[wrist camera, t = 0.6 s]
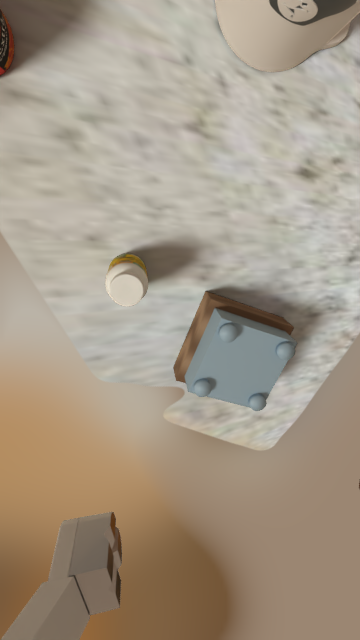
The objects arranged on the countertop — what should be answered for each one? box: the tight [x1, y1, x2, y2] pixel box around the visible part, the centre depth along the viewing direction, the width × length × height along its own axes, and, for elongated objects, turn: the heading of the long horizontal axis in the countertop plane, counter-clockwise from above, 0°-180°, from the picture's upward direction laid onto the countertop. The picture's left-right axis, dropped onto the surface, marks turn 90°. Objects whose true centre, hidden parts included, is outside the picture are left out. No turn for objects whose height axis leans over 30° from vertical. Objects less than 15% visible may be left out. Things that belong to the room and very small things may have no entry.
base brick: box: [173, 291, 294, 383], centre depth 51 cm, size 14×14×4 cm
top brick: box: [184, 308, 297, 411], centre depth 47 cm, size 12×12×5 cm
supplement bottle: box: [105, 254, 148, 306], centre depth 42 cm, size 5×5×10 cm
